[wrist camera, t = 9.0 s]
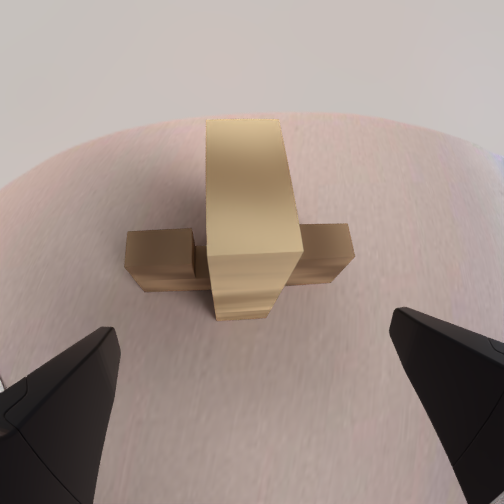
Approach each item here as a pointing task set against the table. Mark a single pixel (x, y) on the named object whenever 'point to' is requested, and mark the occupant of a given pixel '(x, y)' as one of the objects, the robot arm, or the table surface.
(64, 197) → the table surface
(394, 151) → the table surface
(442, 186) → the table surface
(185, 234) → the lower notched wooden block
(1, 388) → the teacup
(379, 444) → the table surface
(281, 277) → the tall wooden block
